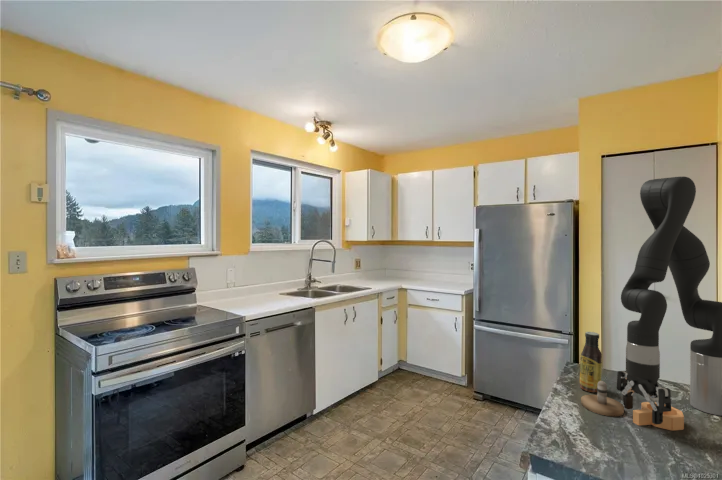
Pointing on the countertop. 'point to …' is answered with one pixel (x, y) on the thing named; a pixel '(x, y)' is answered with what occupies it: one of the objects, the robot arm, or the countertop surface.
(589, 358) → the sauce bottle
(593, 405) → the round wooden base
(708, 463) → the countertop surface
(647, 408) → the ring
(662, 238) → the robot arm
